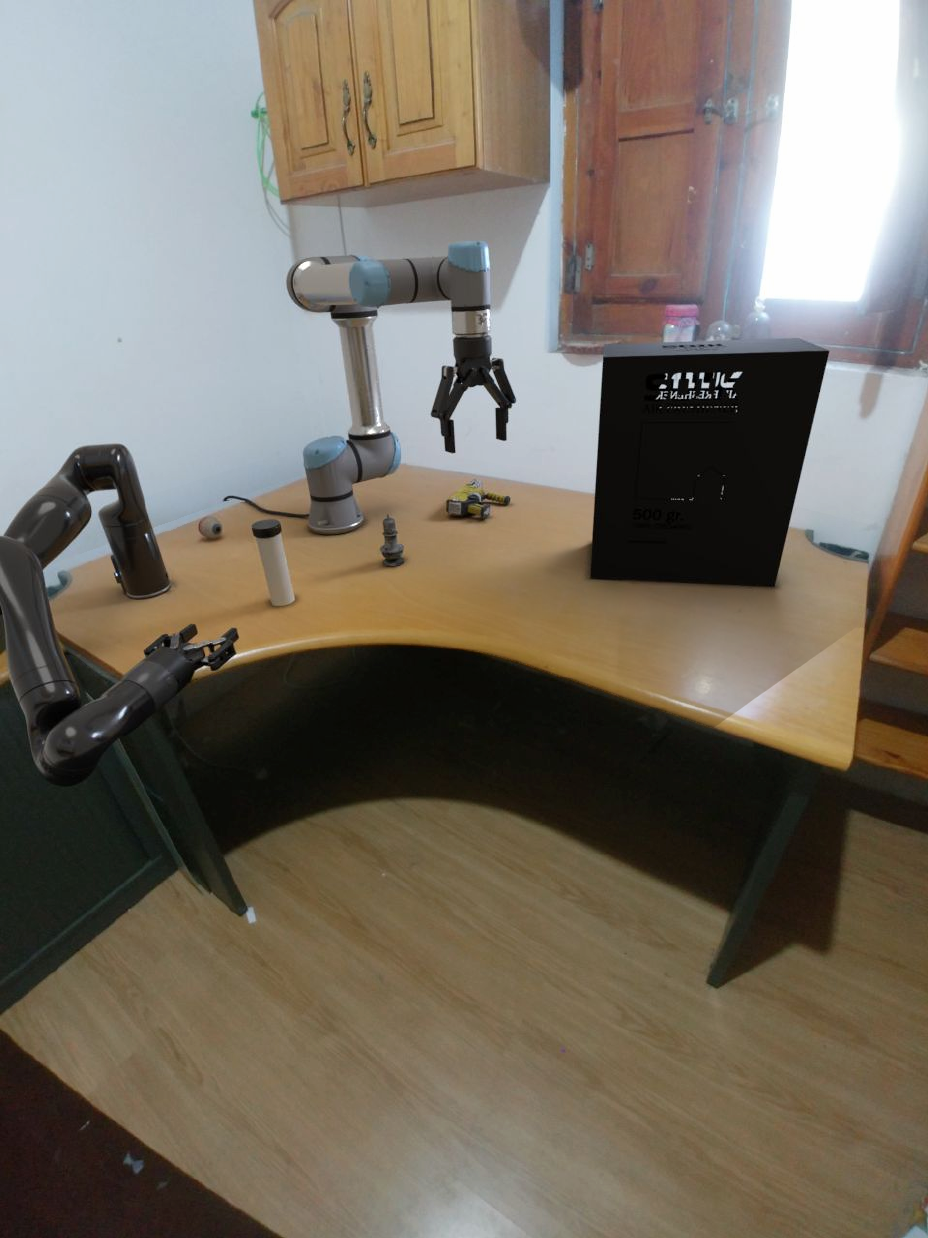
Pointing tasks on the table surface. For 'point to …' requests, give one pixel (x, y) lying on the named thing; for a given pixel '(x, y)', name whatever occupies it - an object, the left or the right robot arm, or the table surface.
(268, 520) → the lid
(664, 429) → the cardboard box
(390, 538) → the grey stepped tapered figure
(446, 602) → the table surface
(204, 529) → the eyeball
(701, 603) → the table surface
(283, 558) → the jar
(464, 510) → the toy gun
